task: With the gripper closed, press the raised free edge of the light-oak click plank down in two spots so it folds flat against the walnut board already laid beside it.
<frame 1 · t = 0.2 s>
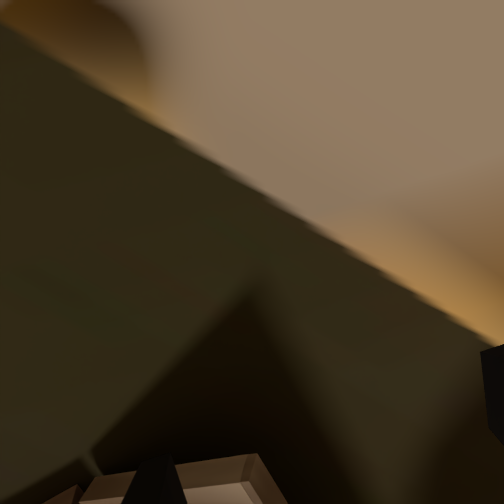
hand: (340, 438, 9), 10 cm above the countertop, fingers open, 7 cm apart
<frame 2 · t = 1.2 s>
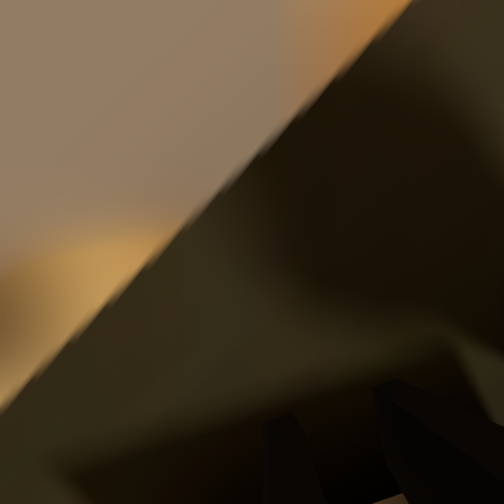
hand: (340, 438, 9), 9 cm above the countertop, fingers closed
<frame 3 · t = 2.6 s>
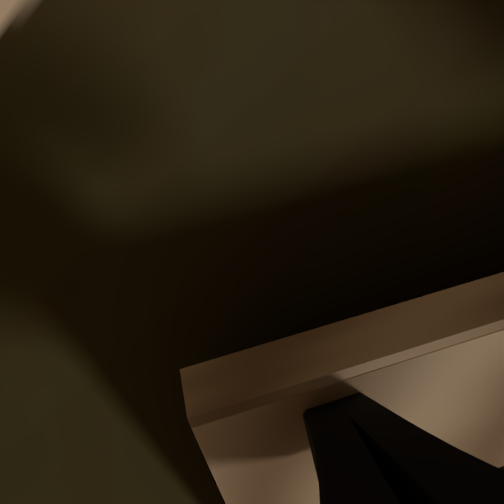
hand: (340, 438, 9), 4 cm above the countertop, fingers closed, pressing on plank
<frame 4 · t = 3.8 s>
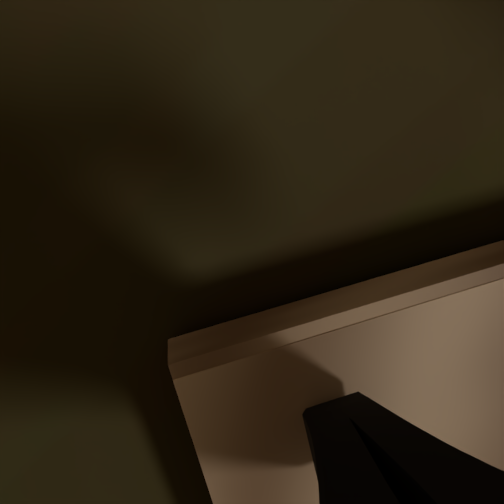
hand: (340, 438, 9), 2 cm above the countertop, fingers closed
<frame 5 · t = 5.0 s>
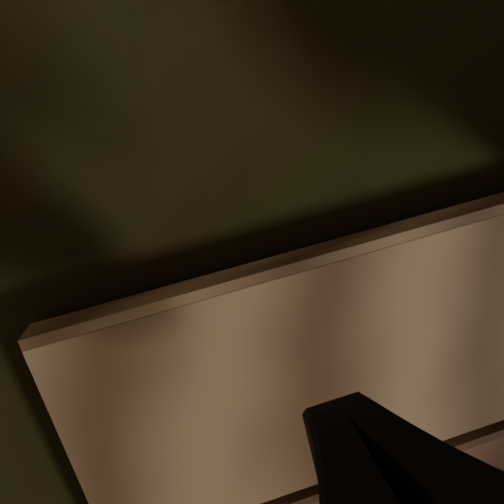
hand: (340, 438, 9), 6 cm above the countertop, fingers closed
plank: (333, 363, 15), point 1 cm above the countertop, hinge at 2.7°
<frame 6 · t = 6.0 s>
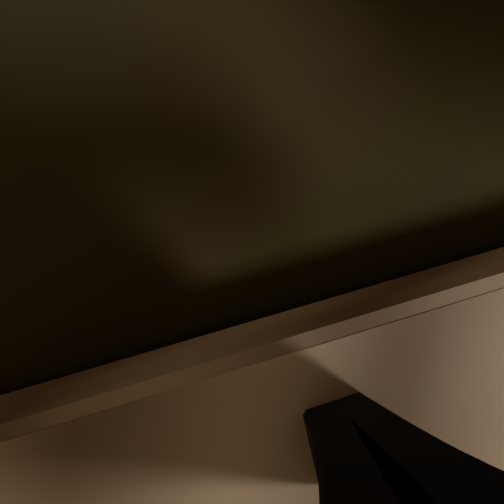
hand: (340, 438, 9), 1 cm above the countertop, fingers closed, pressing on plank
plank: (399, 450, 10), point 1 cm above the countertop, hinge at 2.7°, touching gripper
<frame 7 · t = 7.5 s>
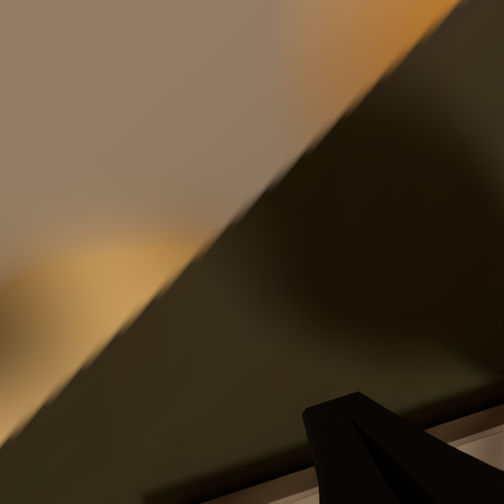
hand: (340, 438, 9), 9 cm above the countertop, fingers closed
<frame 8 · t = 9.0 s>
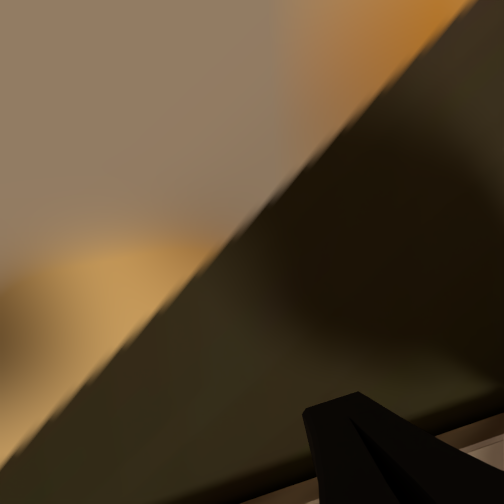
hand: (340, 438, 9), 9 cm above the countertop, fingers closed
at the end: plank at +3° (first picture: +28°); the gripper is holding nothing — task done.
